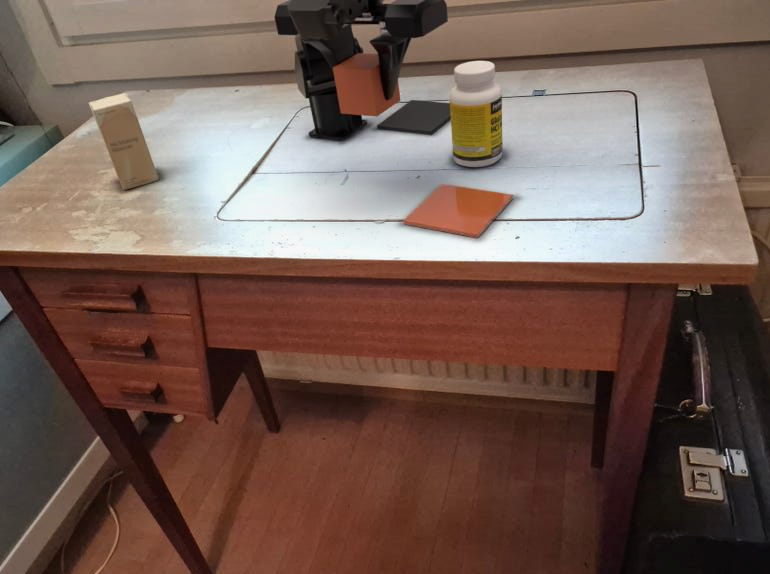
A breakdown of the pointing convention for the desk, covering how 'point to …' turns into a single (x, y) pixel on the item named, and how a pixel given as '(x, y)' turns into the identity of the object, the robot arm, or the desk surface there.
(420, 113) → the charcoal mat
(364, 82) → the terracotta block
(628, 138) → the desk surface
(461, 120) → the pill bottle
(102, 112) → the box
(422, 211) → the terracotta mat
